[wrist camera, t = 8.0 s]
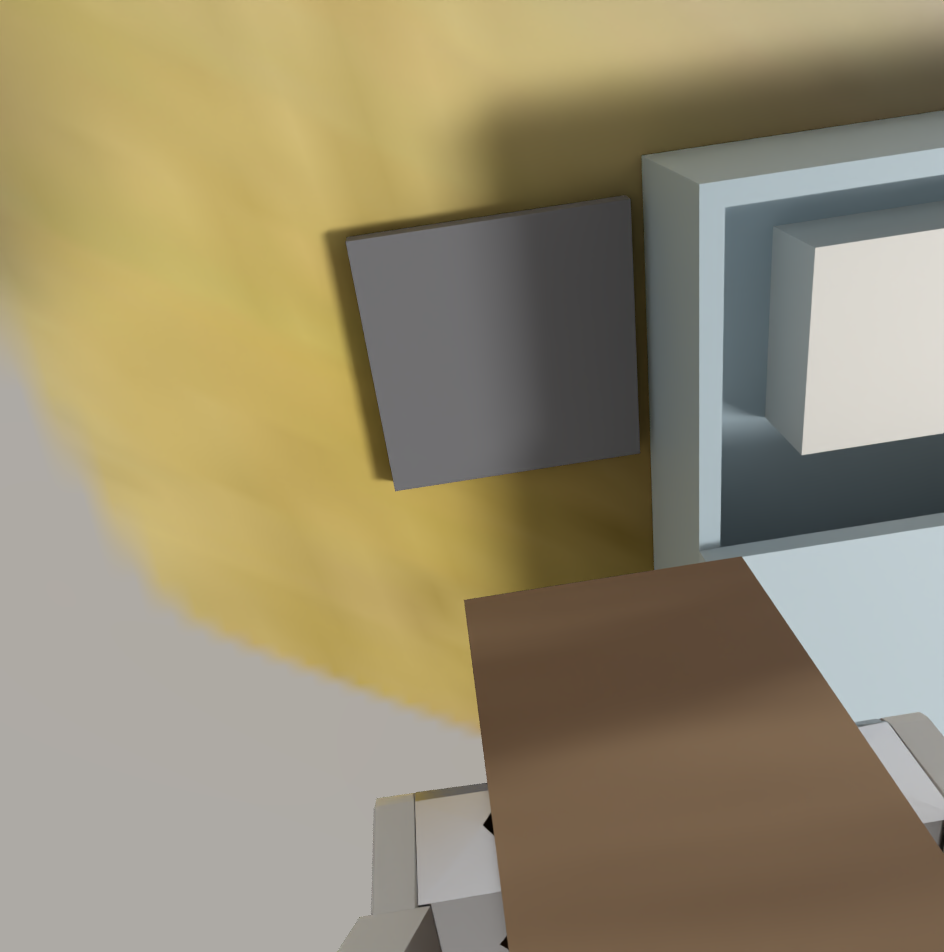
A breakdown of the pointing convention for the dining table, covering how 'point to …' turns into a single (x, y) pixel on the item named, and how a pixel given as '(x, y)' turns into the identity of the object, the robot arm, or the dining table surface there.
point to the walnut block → (686, 777)
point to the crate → (808, 389)
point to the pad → (502, 340)
